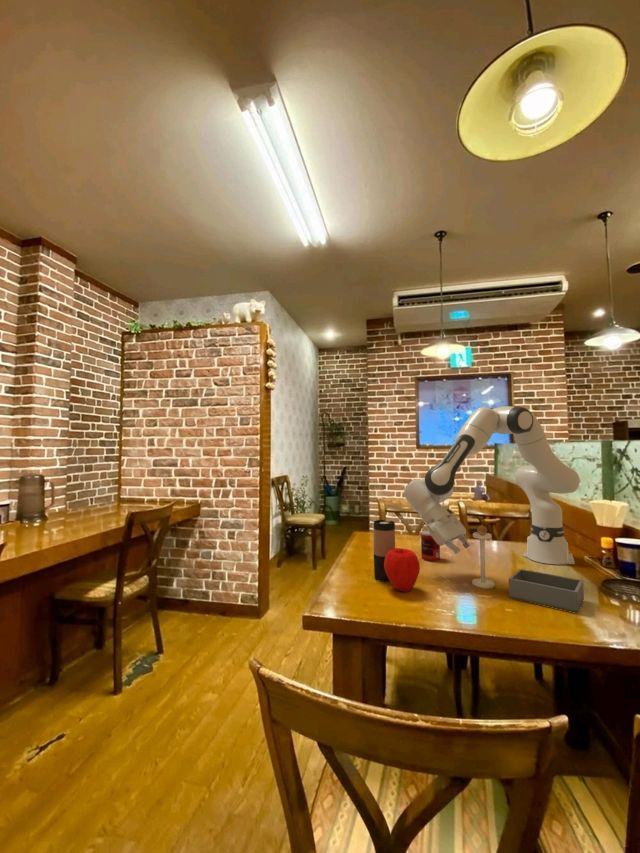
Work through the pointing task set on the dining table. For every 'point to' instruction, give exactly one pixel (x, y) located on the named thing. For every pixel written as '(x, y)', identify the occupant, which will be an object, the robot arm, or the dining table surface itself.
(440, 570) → the dining table surface
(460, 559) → the dining table surface
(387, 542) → the travel mug
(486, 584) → the pedestal dish
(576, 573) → the dining table surface
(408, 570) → the apple
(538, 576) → the tray
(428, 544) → the canned food
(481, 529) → the ball
